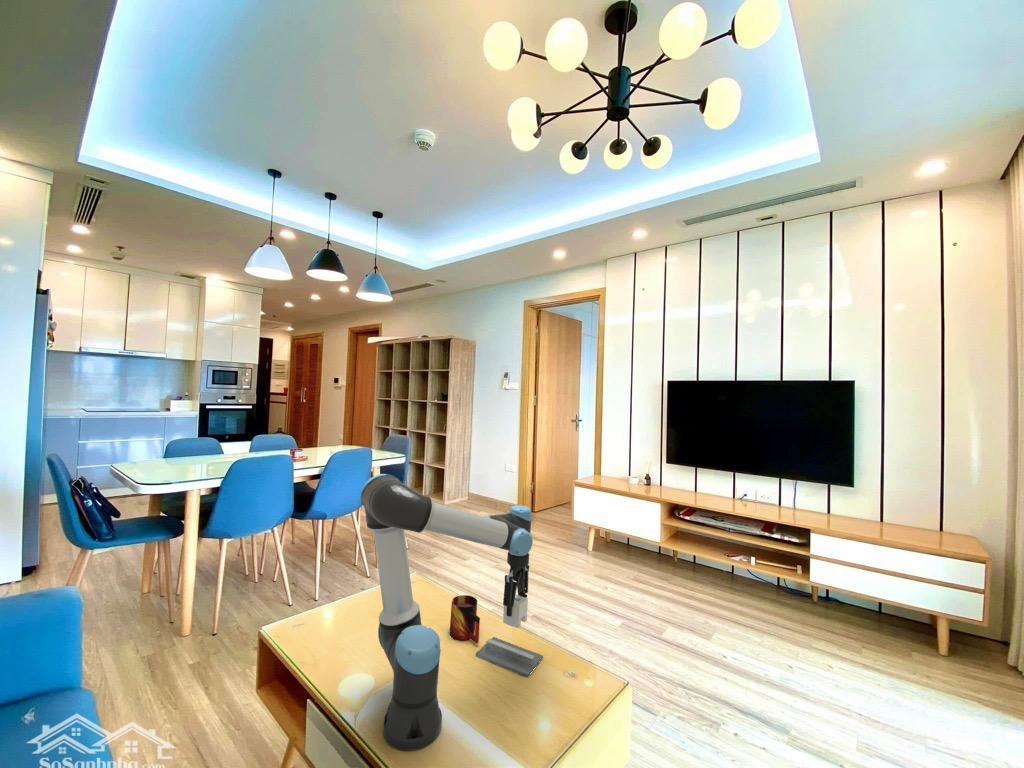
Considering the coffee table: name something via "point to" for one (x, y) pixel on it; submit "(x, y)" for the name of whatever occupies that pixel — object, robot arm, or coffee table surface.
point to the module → (518, 611)
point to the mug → (464, 619)
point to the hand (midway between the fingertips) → (514, 620)
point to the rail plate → (509, 656)
